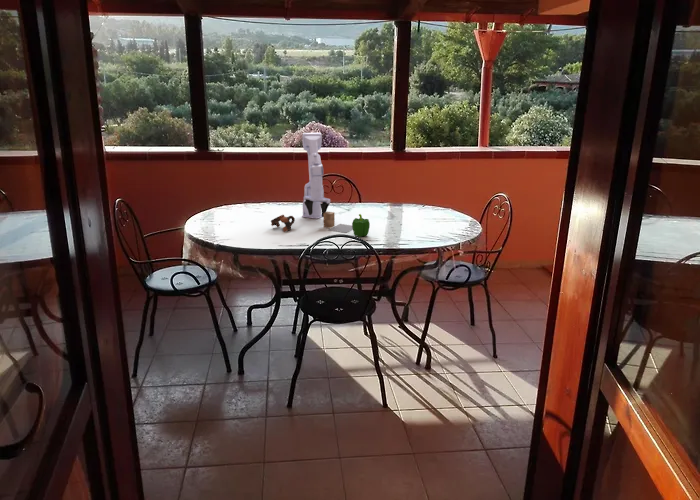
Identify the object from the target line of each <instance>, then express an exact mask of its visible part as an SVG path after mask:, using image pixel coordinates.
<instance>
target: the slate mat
mask: <svg viewBox="0 0 700 500" xmlns="http://www.w3.org/2000/svg"><path fill="white" fill-rule="evenodd" d="M328 231H333V232H336V233H337V232H338V233H344V234H347V233H349V232H350V231H353V228H352V224H345V223H339V224H337V225H335V226H333V227H331V228H329V229H328Z"/></svg>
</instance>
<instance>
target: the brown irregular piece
mask: <svg viewBox="0 0 700 500" xmlns="http://www.w3.org/2000/svg"><path fill="white" fill-rule="evenodd" d="M295 219H296V218H295V217H294V216H293V215H289V216H285V214H280V215H279V216H277V217H275V218H273V219H271V220H270V222H271V224H270V225H271V227H274V226H276V227H277V228H279V227H280V226H281V224H280V222H281V223H283V224H284V227H282V230H283V232H284V233H285V232H287V231H290V230H292V225H293V224H295V221H296V220H295Z"/></svg>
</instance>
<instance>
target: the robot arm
mask: <svg viewBox="0 0 700 500" xmlns="http://www.w3.org/2000/svg"><path fill="white" fill-rule="evenodd" d="M322 136H323V135H322V133H321V132H320V131H319V132H303V133H302V137H301V138H302V149H303V150H304V151H306V153H307V160H308V175H309V177H308V178H309V179H308V180H309V181H308V182H307V183H305V185H304V196H303V202H302V216H301V217H303V218H310V219H316V220H318V219H320V218H324V213H325V212H327V210H328V208H329V205H330V204H331V198H327V197H325V192H324V184H323V177H324V166H323V164H322V163H323V162H322V160H321V155H320V154H319V151H320V150H321V147H322V143H323V137H322Z"/></svg>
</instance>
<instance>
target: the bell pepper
mask: <svg viewBox="0 0 700 500" xmlns="http://www.w3.org/2000/svg"><path fill="white" fill-rule="evenodd" d="M358 216H359V218H357V217H355V218H354V219H353V221H352V222H351V225H352V228H353V230H352V231H353V234H354V236H355V237H367V236H368V234H369V230H370V226H371V225H370V220H369V219H368V218H363V216H362V214H361V213H359V214H358Z"/></svg>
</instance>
